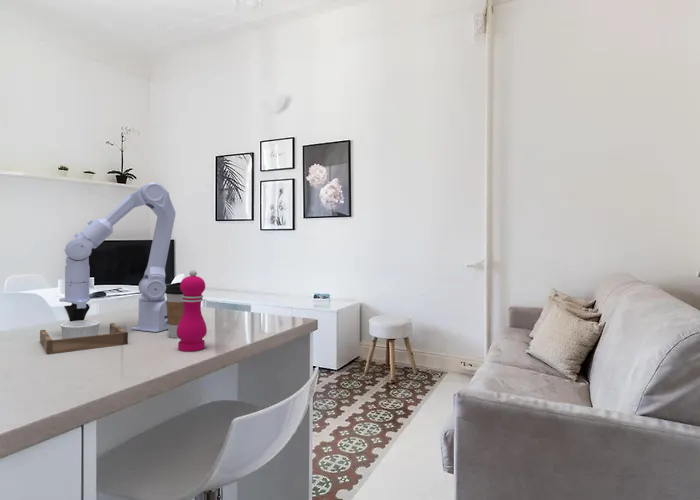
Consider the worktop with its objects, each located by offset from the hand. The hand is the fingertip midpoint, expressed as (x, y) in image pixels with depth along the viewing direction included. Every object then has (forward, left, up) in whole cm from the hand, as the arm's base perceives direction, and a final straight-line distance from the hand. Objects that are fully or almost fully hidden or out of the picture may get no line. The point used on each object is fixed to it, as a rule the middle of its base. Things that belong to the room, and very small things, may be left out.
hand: (76, 330), depth 116 cm
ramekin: (-5, +3, -1) cm, 6 cm away
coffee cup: (-25, -11, -1) cm, 28 cm away
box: (-9, +5, -1) cm, 11 cm away
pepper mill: (-37, -1, -1) cm, 37 cm away
